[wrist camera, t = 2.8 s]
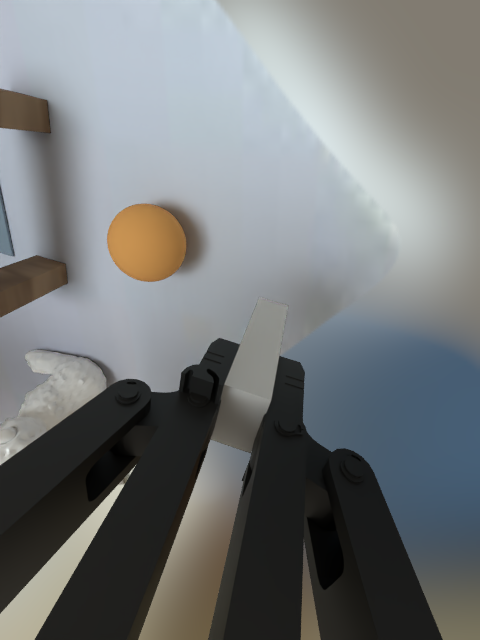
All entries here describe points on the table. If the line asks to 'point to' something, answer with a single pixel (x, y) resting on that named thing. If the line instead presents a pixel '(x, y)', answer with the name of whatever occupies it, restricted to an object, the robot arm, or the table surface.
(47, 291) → the bridge
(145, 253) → the ball
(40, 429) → the white creature statuette
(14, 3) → the table surface
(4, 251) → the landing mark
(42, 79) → the table surface
